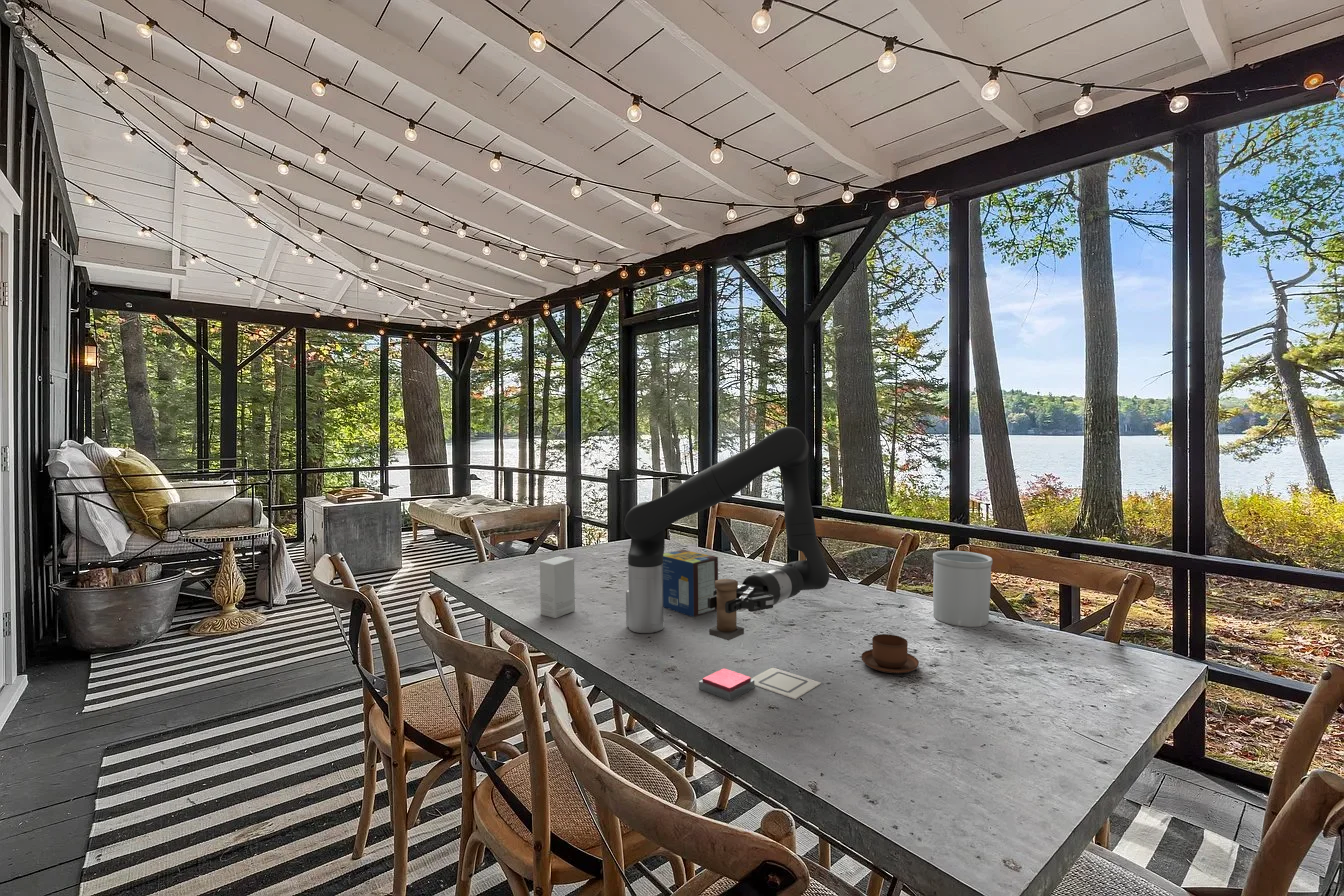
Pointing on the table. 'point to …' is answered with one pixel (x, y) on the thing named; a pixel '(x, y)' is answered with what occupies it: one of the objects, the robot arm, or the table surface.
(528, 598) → the table surface
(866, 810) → the table surface
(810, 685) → the sheet
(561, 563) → the skincare box
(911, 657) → the cup and saucer
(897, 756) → the table surface
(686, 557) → the protein box
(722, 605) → the stamp
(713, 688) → the ink pad
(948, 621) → the utensil holder
